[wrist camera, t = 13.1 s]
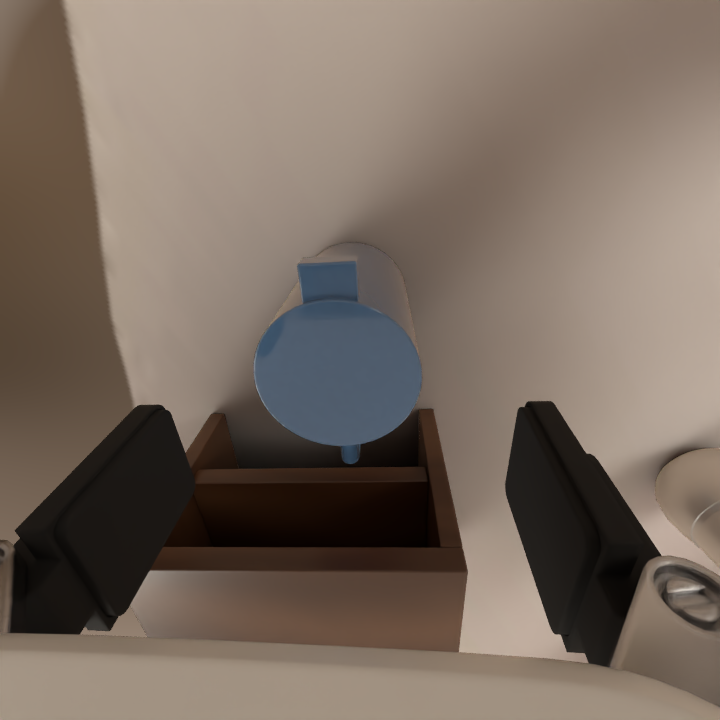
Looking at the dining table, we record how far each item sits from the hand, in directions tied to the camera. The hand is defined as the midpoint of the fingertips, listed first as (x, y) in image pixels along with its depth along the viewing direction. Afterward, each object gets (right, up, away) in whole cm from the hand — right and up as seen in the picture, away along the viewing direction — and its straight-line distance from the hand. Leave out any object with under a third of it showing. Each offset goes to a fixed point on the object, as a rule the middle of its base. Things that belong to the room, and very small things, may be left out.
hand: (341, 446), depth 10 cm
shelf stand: (-2, -8, +20) cm, 22 cm away
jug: (0, +6, +13) cm, 14 cm away
